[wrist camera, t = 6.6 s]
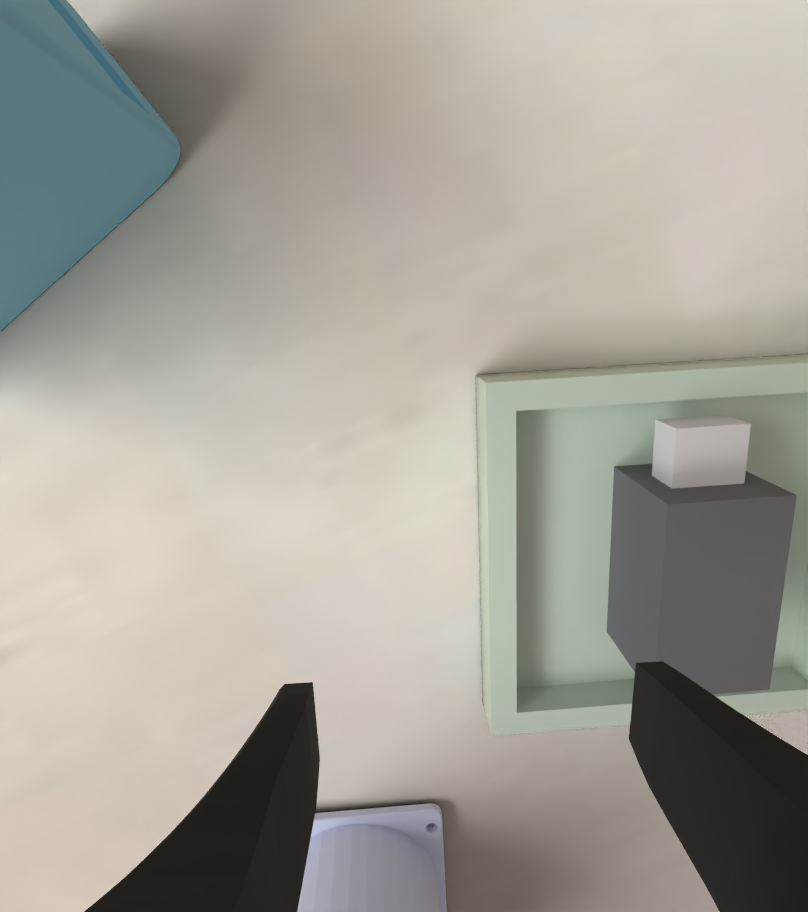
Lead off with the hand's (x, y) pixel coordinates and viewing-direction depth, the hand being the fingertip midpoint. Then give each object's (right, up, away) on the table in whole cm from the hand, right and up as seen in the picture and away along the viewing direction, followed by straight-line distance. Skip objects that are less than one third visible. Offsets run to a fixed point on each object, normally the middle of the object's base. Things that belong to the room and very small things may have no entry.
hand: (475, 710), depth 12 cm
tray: (+8, +2, +10) cm, 13 cm away
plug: (+8, +2, +9) cm, 13 cm away
